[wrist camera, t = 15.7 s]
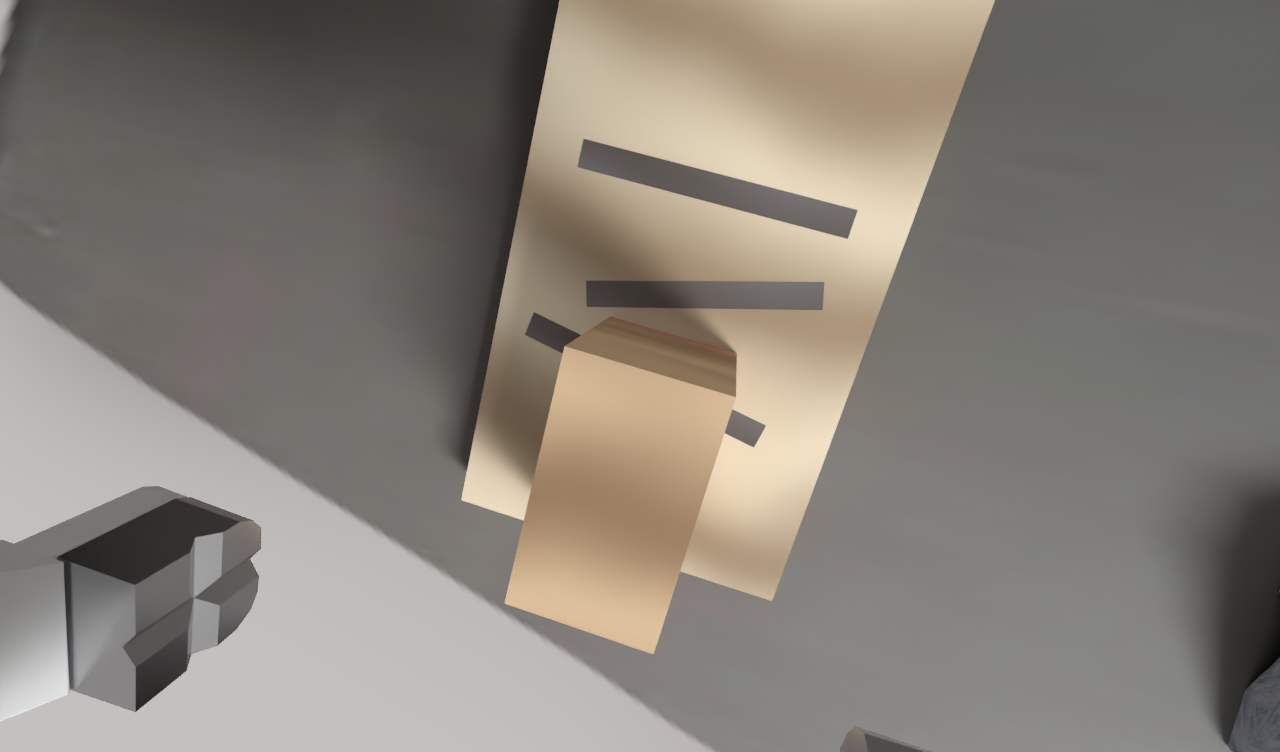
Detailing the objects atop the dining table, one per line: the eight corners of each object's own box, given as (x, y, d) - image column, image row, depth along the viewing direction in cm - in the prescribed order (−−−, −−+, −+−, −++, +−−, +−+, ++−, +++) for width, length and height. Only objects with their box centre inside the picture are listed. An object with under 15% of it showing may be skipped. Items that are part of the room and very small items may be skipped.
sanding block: (609, 316, 18) (564, 346, 13) (736, 353, 18) (735, 397, 13) (560, 515, 20) (504, 603, 15) (674, 552, 20) (653, 654, 15)
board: (607, -146, 17) (595, -182, 15) (1001, -62, 16) (1028, -92, 14) (479, 482, 22) (461, 500, 21) (769, 576, 21) (771, 601, 20)
